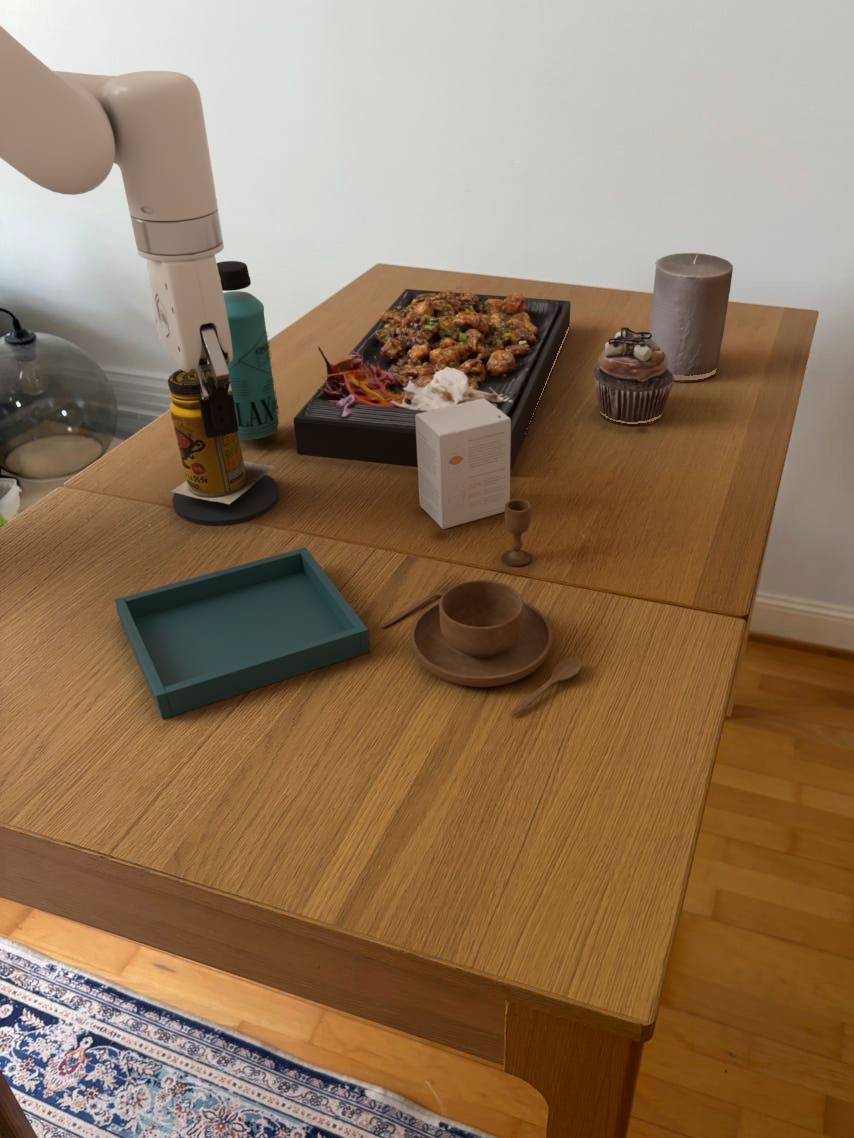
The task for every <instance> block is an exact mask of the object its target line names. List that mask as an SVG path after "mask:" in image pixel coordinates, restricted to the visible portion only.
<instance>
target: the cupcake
mask: <svg viewBox="0 0 854 1138" xmlns="http://www.w3.org/2000/svg"><path fill="white" fill-rule="evenodd" d="M635 335H637V336H636V337H635ZM667 366H668V361H667V357H666V354H665V353H664V352H663V351H661V349H660V347H659V344H658V343H657V342H656V341H655V340H654V339H653V338H652V334H651V333H650V332H649V331H634V330H631V329H630V328H629V327H628V326H627V327H626V326H624V327H621V328H620V331H618V332H617V333H615V336H614V338H609V339H608V341H607V342H606V343H605V344H604V350H603V351H602V352H601V353H600V355H599V357H598V360H597V362H596V364H595V366H594V368H593V379H594V385H595V389H596V396H597V404H598V405H597V406H598V411H599V410H600V411H601V412H602V413H603V414H606V416H608V417H609V418H612V419H613V420H614V419H615V420H621V421H625V422H638V421H645V420H646V421H647V420H649V419H652V418H654V417H658V416H659V415H661V414H664V412H665V409H666V407H667V402H668V399H669V396H670V393H671V390H672V387H673V385H674V382H675V381H674V379H675V378H674V376H673V374H671V372H670V370H669V369H667ZM600 411H599V415H600V417H601V418H602V419H604V420H605V421H607V422H610V423H612V424H616V425H621V426H624V427H625V426H626V427H643V426H648V425H652V424H654V423H656V422H658V421H660V420H661V418H662V417H663V415H662V416H661V417H660V418H658V419H656V420H654V421H651V422H647V423H638V424H627V423H621V422H616V421H613V420H610V419H609V418H606V417H605V416H603V415H602V414H601V413H600Z"/></svg>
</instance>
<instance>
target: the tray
mask: <svg viewBox="0 0 854 1138" xmlns="http://www.w3.org/2000/svg"><path fill="white" fill-rule="evenodd" d="M114 604H115V608H116V611H117V615H118V618H119V621H120V624H121V627H122V629H123V631H124V633H125V635H126V638H127V640H128V643H129V645H130V648H131V649H132V653H133V654H134V657H135V659H136V662H137V663H138V666H139V668H140V672H141V673H142V676H143V677H144V680H145V683H146V685H147V687H148V690H149V692H150V694H151V697H152V699H153V701H154V704H155V706H156V708H157V711H158V712H159V715H160V717H161V720H165V719H167V718H170V717H174V716H178V715H181V714H183V713H186V712H190V711H193V710H195V709H199V708H202V707H205V706H208V705H211V704H214V703H217V702H220V701H223V700H227V699H229V698H232V697H235V696H238V695H242V694H245V693H247V692H251V691H253V690H254V691H255V690H258V689H261V688H264V687H266V686H269V685H272V684H276V683H279V682H282V681H284V680H288V679H290V678H291V679H292V678H294V677H297V676H300V675H303V674H307V673H310V672H312V671H316V670H318V669H322V668H325V667H328V666H332V665H334V664H338V663H340V662H344V661H346V660H349V659H353V658H356V657H359V656H361V655H365V654H369V653H371V645H370V635H369V629H368V628H367V626H366V625H365V624H364V622H363V620H362V619H361V618H360V617H359V616H358V614H357V613H356V611H355V610H354V609H353V607H352V606H351V605H350V604H349V602H348V601H347V599H346V598H345V597H344V596H343V594H342V593H341V592H340V590H339V589H338V587H337V586H336V585H335V584H334V582H333V581H332V580H331V579H330V577H329V576H328V574H327V573H326V572H325V570H324V569H323V568H322V567H321V565H320V564H319V562H318V561H317V560H316V559H315V558H314V556H313V555H312V553H311V552H310V551H309V549H308V548H307V547H301V548H297V549H294V550H290V551H287V552H283V553H279V554H276V555H272V556H268V557H264V558H262V559H257V560H254V561H250V562H246V563H243V564H238V565H235V566H232V567H228V568H224V569H220V570H217V571H213V572H210V573H206V574H202V575H198V576H195V577H190V578H186V579H184V580H181V581H177V582H172V583H169V584H165V585H162V586H158V587H154V588H151V589H147V590H144V591H140V592H135V593H133V594H129V595H125V596H122V597H118V598H115V599H114Z"/></svg>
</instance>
